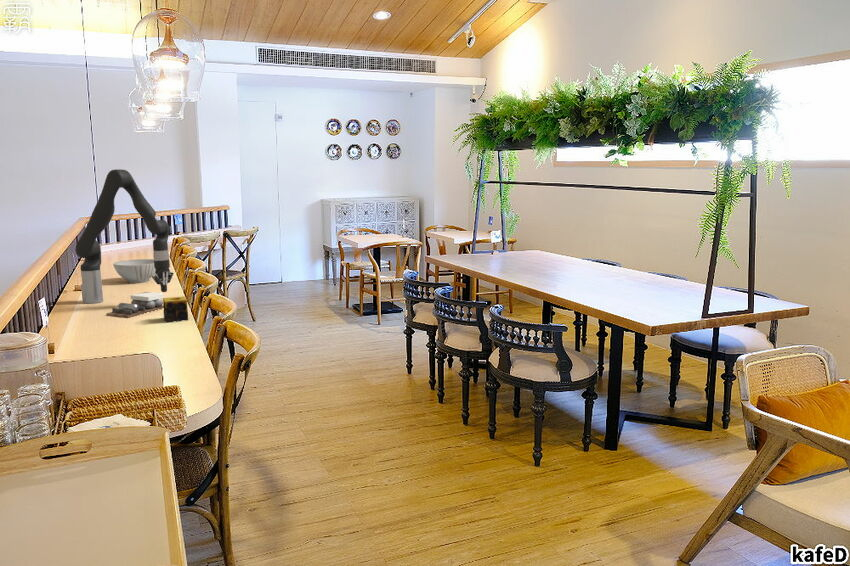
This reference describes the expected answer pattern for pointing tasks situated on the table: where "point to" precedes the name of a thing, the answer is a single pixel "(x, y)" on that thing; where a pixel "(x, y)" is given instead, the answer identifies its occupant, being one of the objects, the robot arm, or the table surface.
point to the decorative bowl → (135, 270)
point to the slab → (147, 296)
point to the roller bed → (144, 308)
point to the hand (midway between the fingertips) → (164, 291)
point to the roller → (129, 307)
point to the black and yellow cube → (175, 309)
